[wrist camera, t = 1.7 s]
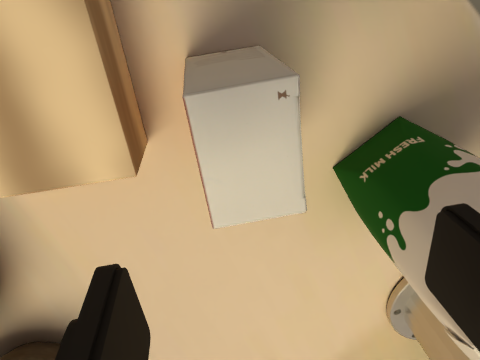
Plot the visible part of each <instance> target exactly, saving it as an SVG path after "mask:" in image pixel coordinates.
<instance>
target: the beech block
mask: <svg viewBox="0 0 480 360" xmlns="http://www.w3.org/2000/svg"><path fill="white" fill-rule="evenodd" d="M146 145H147V138H146V134H145V131H144V127H143V123H142V119H141V115H140V112H139V108H138V104H137V100H136V97H135V93H134V89H133V85H132V81H131V78H130V74H129V70H128V66H127V63H126V59H125V55H124V51H123V47H122V44H121V40H120V36H119V32H118V28H117V25H116V21H115V17H114V13H113V10H112V6H111V2H110V0H0V198H3V197H9V196H16V195H22V194H28V193H35V192H41V191H47V190H54V189H60V188H67V187H73V186H79V185H86V184H92V183H98V182H105V181H111V180H117V179H124V178H130V177H136V176H137V173H138V170H139V167H140V164H141V161H142V158H143V155H144V151H145V148H146Z"/></svg>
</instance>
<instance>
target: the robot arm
mask: <svg viewBox="0 0 480 360" xmlns="http://www.w3.org/2000/svg"><path fill="white" fill-rule="evenodd" d="M425 283H426V285H427V287H428V289H429V290H430V292H431V293H432V294H433V295H434V297H435V298H436V299H437V300H438V301H439V303H440V304H441V305H442V306H443V308H444V309H445V310H446V311H447V313H448V314H449V315H450V316H451V317H452V319H453V320H454V321H455V322H456V324H457V325H458V326H459V327H460V329H461V330H462V331H463V332H464V333H465V335H466V336H467V337H468V338H469V340H470V341H471V342H472V343H473V345H474V346H475V347H476V348H477V350H478V351H479V352H480V213H479V212H477V211H476V210H475V209H473V208H472V207H471V206H469V205H468V204H465V203H461V204H455V205H450V206H445V207H443V208H442V209H441V212H439V213H438V214H437V216H436V221H435V226H434V232H433V237H432V242H431V247H430V252H429V257H428V262H427V268H426V273H425ZM387 317H388V319H389V322H390V323H391V325H392V326H393V328H394V330H395V331H396V332H398V333H399V334H400V335H402V336H404V337H406V338H409V339H414V340H418V342H419V343H420V345H421V347H422V348H423V350H424V351H425V353H426V354H427V356H428V357H429V359H430V360H470V359H469V358H468V357H467V356H466V355H465V354H464V352H463V351H462V350H461V349H460V348H459V347H458V346H457V345H456V344H455V343H454V341H453V340H452V339H451V338H450V337H449V336H448V334H447V333H446V332H445V330H446V331H447V332H448V333H449V334H450V335H451V336H453V335H452V334H451V333H450V332H449V331H448V330H447V329H446V328H445V327H444V325H443V324H442V323H441V322H440V321H439V320H438V319H437V318H436V317H435V315H434V314H433V313H432V312H431V311H430V310H429V308H428V307H427V306H426V305H425V304H424V302H423V301H422V300H421V298H420V297H419V296H418V294H417V293H416V292H415V291H414V289H413V288H412V287H411V285H410V284H409V283H408V281H407V280H406V279H405V277H404V278H403V279H402V280H401V281H400V283H399V284H398V285H397V286H396V287H395V289H394V290H393V292H392V293H391V295H390V298H389V300H388V303H387ZM444 329H445V330H444ZM453 337H454V336H453ZM454 338H455V337H454ZM455 339H456V338H455ZM149 348H150V330H149V327H148V324H147V321H146V319H145V316H144V313H143V311H142V308H141V305H140V302H139V300H138V297H137V294H136V292H135V289H134V286H133V284H132V281H131V278H130V276H129V273H128V270H127V269H126V268H121V267H120V266H119V264H113V265H107V266H101V267H97V268H96V270H95V272H94V274H93V277H92V280H91V283H90V286H89V289H88V292H87V294H86V297H85V300H84V303H83V306H82V309H81V311H80V314H79V317H78V319H75V320H72V321H71V322H70V323H69V325H68V327H67V329H66V331H65V334H64V337H63V339H62V342H61V345H60V347H59V350H58V352H57V355H56V358H55V360H148V356H149Z"/></svg>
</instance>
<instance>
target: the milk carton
mask: <svg viewBox="0 0 480 360" xmlns="http://www.w3.org/2000/svg"><path fill="white" fill-rule="evenodd" d="M333 169H334V171H335V173H336V175H337V177H338V178H339V180H340V182H341V184H342V186H343V188H344V190H345V192H346V193H347V195H348V197H349V199H350V201H351V203H352V204H353V206H354V208H355V210H356V211H357V213H358V215H359V216H360V218H361V219H362V221H363V222H364V224H365V225H366V226H367V228H368V229H369V231H370V232H371V234H372V235H373V236H374V238H375V239H376V240H377V242H378V243H379V244H380V246H381V247H382V248H383V250H384V251H385V252H386V254H387V255H388V256H389V258H390V259H391V260H392V262H393V263H394V264H395V266H396V267H397V268H398V269H399V271H400V272H401V273H402V275H403V276H404V277H405V279H406V280H407V281H408V283H409V284H410V285H411V287H412V288H413V289H414V291H415V292H416V293H417V294H418V296H419V297H420V298H421V300H422V301H423V302H424V304H425V305H426V306H427V307H428V308H429V310H430V311H431V312H432V313H433V314H434V315H435V317H436V318H437V319H438V320H439V321H440V322H441V323H442V324H443V325H444V327H445V328H446V329H447V330H448V331H449V332H450V333H451V334H452V335H453V336H454V337H455V338H456V339H455V338H454V337H453V336H451V335H450V334H449V333H448V332H447V331H446V330H445V329H444V330H445V332H446V333H447V334H448V336H449V337H450V338H451V339H452V340H453V341H454V343H455V344H456V345H457V346H458V347H459V348H460V349H461V350H462V351H463V352H464V354H465V355H466V356H467V357H468V358H469V359H470V360H480V352H479V351H478V350H477V348H476V347H475V346H474V345H473V343H472V342H471V341H470V340H469V338H468V337H467V336H466V335H465V333H464V332H463V331H462V330H461V329H460V327H459V326H458V325H457V324H456V322H455V321H454V320H453V319H452V317H451V316H450V315H449V314H448V313H447V311H446V310H445V309H444V308H443V306H442V305H441V304H440V303H439V301H438V300H437V299H436V298H435V297H434V295H433V294H432V293H431V292H430V290H429V289H428V287H427V285H426V283H425V273H426V268H427V262H428V257H429V252H430V247H431V242H432V237H433V232H434V226H435V221H436V216H437V214H438V213H439V212H441V209H442V208H443V207H445V206H450V205H455V204H461V203H465V204H468V205H469V206H471V207H472V208H473V209H475V210H476V211H477V212H479V213H480V158H478V157H477V156H475V155H473V154H471V153H469V152H467V151H466V150H464V149H462V148H460V147H458V146H457V145H455V144H453V143H451V142H449V141H448V140H446V139H444V138H442V137H440V136H438V135H436V134H434V133H432V132H430V131H428V130H426V129H424V128H422V127H420V126H418V125H416V124H414V123H412V122H410V121H408V120H406V119H404V118H402V117H400V116H399V117H398V118H397V119H396V120H394V121H393V122H392V123H390V124H389V125H388V126H387V127H385V128H384V129H383V130H381V131H380V132H379V133H377V134H376V135H375V136H374V137H372V138H371V139H370V140H368V141H367V142H366V143H364V144H363V145H362V146H361V147H359V148H358V149H357V150H355V151H354V152H353V153H351V154H350V155H349V156H348V157H346V158H345V159H344V160H342V161H341V162H340V163H338V164H337V165H336V166H335V167H333Z"/></svg>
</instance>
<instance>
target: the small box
mask: <svg viewBox="0 0 480 360" xmlns="http://www.w3.org/2000/svg"><path fill="white" fill-rule="evenodd" d="M183 101H184V105H185V110H186V114H187V118H188V123H189V127H190V132H191V136H192V140H193V145H194V149H195V154H196V158H197V162H198V167H199V171H200V176H201V180H202V184H203V188H204V192H205V197H206V201H207V206H208V210H209V214H210V218H211V223H212V227H213V229H217V228H223V227H229V226H235V225H240V224H245V223H251V222H256V221H262V220H267V219H272V218H278V217H283V216H288V215H294V214H300V213H305V212H306V211H307V205H306V196H305V186H304V171H303V156H302V139H301V121H300V76H299V74H298V73H296V72H295V71H294V70H292V69H291V68H290V67H288V66H287V65H285V64H284V63H283V62H281V61H280V60H279V59H277V58H276V57H274V56H273V55H272V54H270V53H269V52H268V51H266V50H265V49H264V48H262V47H261V46H254V47H248V48H242V49H236V50H230V51H224V52H218V53H212V54H206V55H200V56H194V57H188V58H186V59H185V73H184V88H183Z"/></svg>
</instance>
